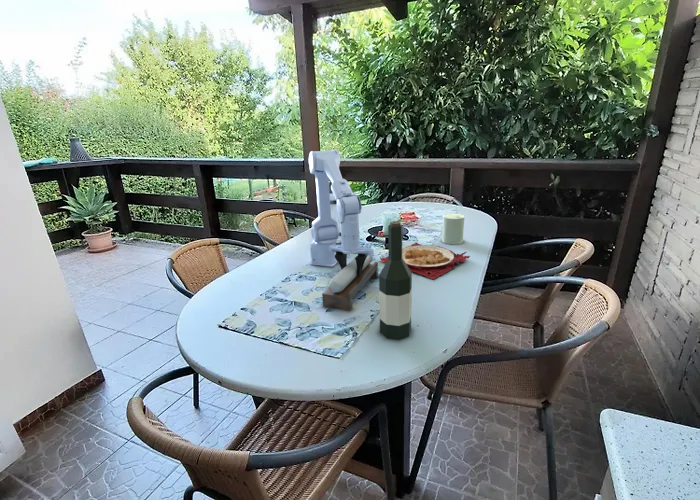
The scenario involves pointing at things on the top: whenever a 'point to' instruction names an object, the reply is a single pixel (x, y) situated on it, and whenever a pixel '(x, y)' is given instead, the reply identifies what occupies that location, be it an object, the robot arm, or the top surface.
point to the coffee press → (334, 211)
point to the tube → (346, 275)
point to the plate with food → (429, 259)
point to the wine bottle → (395, 289)
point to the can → (453, 228)
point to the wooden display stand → (349, 290)
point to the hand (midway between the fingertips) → (352, 274)
